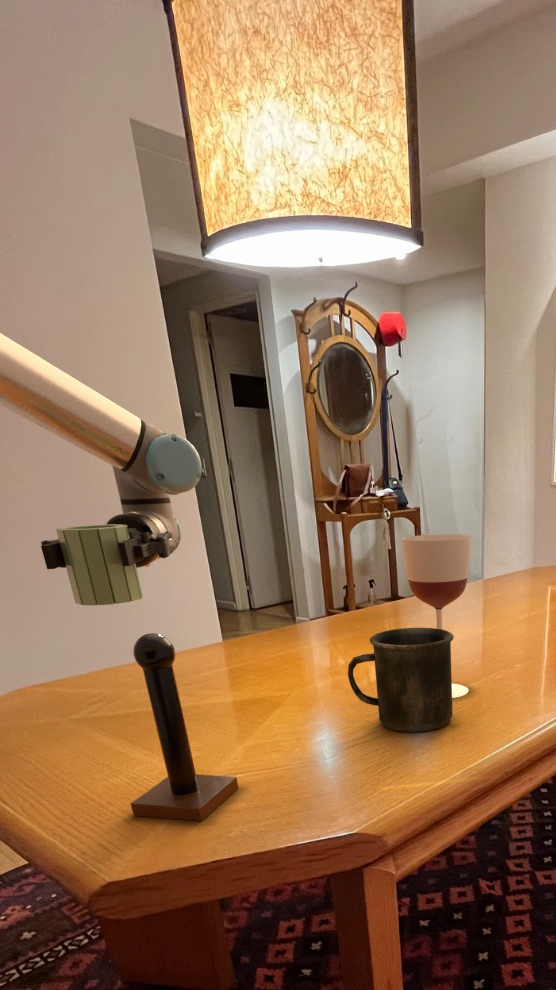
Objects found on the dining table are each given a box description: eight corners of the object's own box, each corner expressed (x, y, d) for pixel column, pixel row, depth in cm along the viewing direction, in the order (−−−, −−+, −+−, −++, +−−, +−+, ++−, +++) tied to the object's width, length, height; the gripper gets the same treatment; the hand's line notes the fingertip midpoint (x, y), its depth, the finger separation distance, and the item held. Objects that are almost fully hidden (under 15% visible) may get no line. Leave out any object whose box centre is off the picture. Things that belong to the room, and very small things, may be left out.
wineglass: (475, 698, 104) (473, 539, 94) (410, 701, 103) (402, 541, 93) (469, 681, 112) (467, 533, 102) (409, 684, 112) (401, 535, 101)
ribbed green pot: (62, 604, 86) (41, 529, 82) (103, 594, 93) (86, 524, 89) (117, 605, 85) (99, 529, 81) (154, 595, 92) (139, 524, 88)
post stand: (133, 816, 71) (86, 642, 63) (175, 784, 78) (138, 624, 70) (201, 821, 70) (163, 644, 61) (238, 788, 77) (208, 625, 68)
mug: (462, 730, 91) (460, 642, 86) (355, 740, 89) (346, 650, 84) (448, 705, 101) (445, 625, 96) (350, 714, 99) (342, 632, 93)
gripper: (211, 562, 105) (180, 583, 85) (70, 568, 103) (3, 591, 83) (202, 510, 102) (168, 519, 82) (56, 514, 100) (-17, 526, 79)
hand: (85, 556), depth 82 cm, fingers closed on ribbed green pot, 8 cm apart
